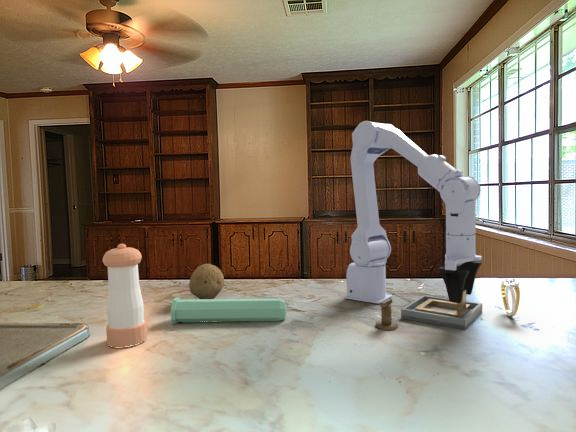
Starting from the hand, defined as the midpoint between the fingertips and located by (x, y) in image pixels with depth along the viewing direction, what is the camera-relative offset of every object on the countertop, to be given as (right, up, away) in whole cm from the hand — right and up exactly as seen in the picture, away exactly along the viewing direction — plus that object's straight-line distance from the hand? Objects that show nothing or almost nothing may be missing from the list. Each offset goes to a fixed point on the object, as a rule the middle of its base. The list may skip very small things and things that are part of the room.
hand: (460, 298), depth 87 cm
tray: (-3, -4, +3) cm, 6 cm away
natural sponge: (-57, -5, +19) cm, 61 cm away
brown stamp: (-16, -5, -3) cm, 18 cm away
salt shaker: (-68, -7, -7) cm, 69 cm away
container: (-49, -6, +4) cm, 50 cm away
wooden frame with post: (-3, -4, +3) cm, 5 cm away
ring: (+11, -4, +1) cm, 12 cm away
